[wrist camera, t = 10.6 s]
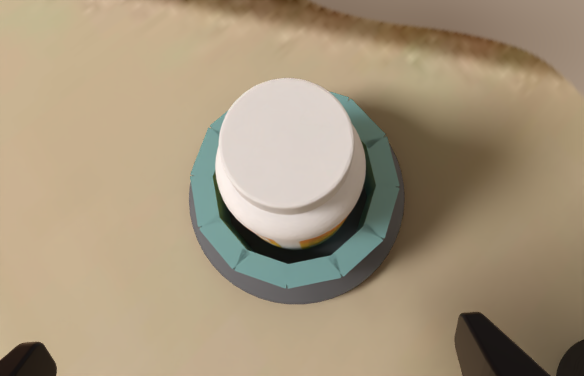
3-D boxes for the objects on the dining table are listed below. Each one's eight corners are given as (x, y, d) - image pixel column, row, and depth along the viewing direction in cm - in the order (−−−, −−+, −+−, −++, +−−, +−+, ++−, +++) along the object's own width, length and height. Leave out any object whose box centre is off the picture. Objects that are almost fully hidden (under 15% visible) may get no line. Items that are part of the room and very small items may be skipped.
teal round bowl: (445, 204, 22) (472, 191, 19) (286, 350, 21) (281, 367, 17) (304, 60, 24) (304, 21, 20) (152, 187, 23) (121, 171, 19)
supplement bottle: (351, 149, 22) (383, 58, 13) (346, 254, 21) (377, 240, 12) (248, 143, 22) (204, 49, 13) (238, 246, 21) (182, 226, 12)
